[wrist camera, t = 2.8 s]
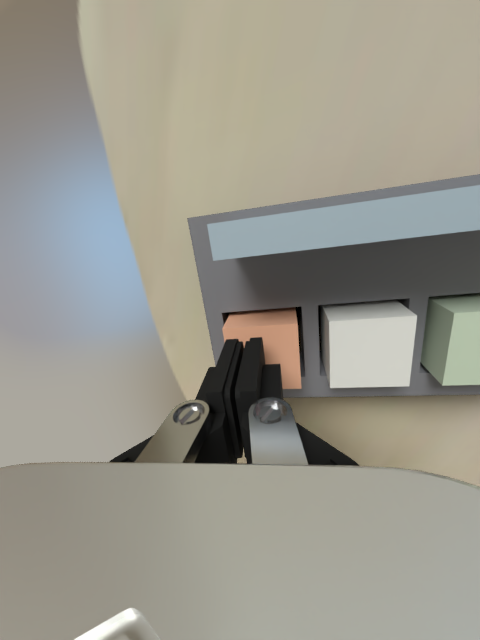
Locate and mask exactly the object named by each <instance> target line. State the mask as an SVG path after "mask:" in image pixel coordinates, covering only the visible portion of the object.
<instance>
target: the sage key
mask: <svg viewBox="0 0 480 640" xmlns="http://www.w3.org/2000/svg"><path fill="white" fill-rule="evenodd" d="M420 362H421V363H422V365H423V366H424V367H425V368H426V369H427V370H428V371H429V372H430V373H431V374H432V375H433V376H434V377H435V378H436V379H437V381H438V382H439V383H440V384H441V385H442V386H449V385H480V293H469V294H456V295H443V296H430V297H429V298H428V306H427V314H426V322H425V330H424V338H423V346H422V354H421V361H420Z"/></svg>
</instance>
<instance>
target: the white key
mask: <svg viewBox="0 0 480 640" xmlns="http://www.w3.org/2000/svg"><path fill="white" fill-rule="evenodd" d="M320 310H321V349H322V361H323V364H324V368H325V371H326V375H327V379H328V382H329V386H330V388H356V387H403V386H409V384H410V375H411V366H412V358H413V349H414V340H415V331H416V322H417V315H416V314H414V313H413V312H412V311H410V310H409V309H408V308H406V307H405V306H404V305H402V304H401V303H400V302H398V301H397V300H396V299H392V300H379V301H366V302H353V303H340V304H328V305H320Z"/></svg>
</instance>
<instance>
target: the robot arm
mask: <svg viewBox="0 0 480 640" xmlns="http://www.w3.org/2000/svg"><path fill="white" fill-rule="evenodd" d="M243 447H244V452H245V457H246V459H247V464H237V458H242V455H243ZM0 640H480V487H479V486H476V485H473V484H470V483H467V482H464V481H460V480H457V479H454V478H451V477H447V476H443V475H438V474H433V473H428V472H424V471H418V470H410V469H401V468H390V467H370V466H359V465H358V464H357V463H356V462H355V461H353V460H352V459H351V458H349V457H348V456H346V455H345V454H343V453H342V452H340V451H339V450H337V449H336V448H334V447H332V446H331V445H329V444H328V443H326V442H325V441H323V440H322V439H320V438H319V437H317V436H316V435H314V434H313V433H311V432H310V431H308V430H307V429H305V428H304V427H302V426H301V425H299V424H298V423H296V422H295V419H294V416H293V413H292V409H291V407H290V405H289V404H288V403H287V402H285V401H284V400H283V388H282V376H281V366H280V364H265V355H264V347H263V339H262V337H255V338H250V341H246V343H245V347H244V345H243V341H241V342H239V340H238V339H226V341H225V343H224V346H223V349H222V351H221V354H220V356H219V359H218V362H217V364H216V367H210V368H209V369H208V371H207V373H206V376H205V378H204V380H203V383H202V385H201V387H200V390H199V392H198V394H197V397H196V399H195V400H189V401H185V402H183V403H181V404H179V405H178V406H176V407H175V408H174V409H173V410H172V411H171V412H170V414H169V415H168V416H167V418H166V419H165V420H164V422H163V423H162V425H161V426H160V427H159V429H158V430H157V432H156V433H155V435H153V436H151V437H150V438H148V439H146V440H145V441H143V442H142V443H139V444H138V445H136V446H134V447H133V448H131V449H129V450H128V451H126V452H124V453H122V454H121V455H119V456H117V457H115V458H114V459H113V460H111V461H110V462H52V463H51V462H50V463H29V464H19V465H11V466H6V467H1V468H0Z"/></svg>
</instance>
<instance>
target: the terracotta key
mask: <svg viewBox="0 0 480 640" xmlns="http://www.w3.org/2000/svg"><path fill="white" fill-rule="evenodd" d="M222 331H223V336H224V342H225V341H226V339H238V340H239V342H241V341H243V345H244V347H245V343H246V341H250V338H255V337H262V339H263V347H264V355H265V364H280V366H281V376H282V388H283V389H301V372H300V355H299V338H298V323H297V316H296V309H295V307H289V308H276V309H263V310H250V311H238V312H231V313H230V315H229V316H228V318H227V320H226V322H225V324H224V326H223V328H222Z"/></svg>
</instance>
